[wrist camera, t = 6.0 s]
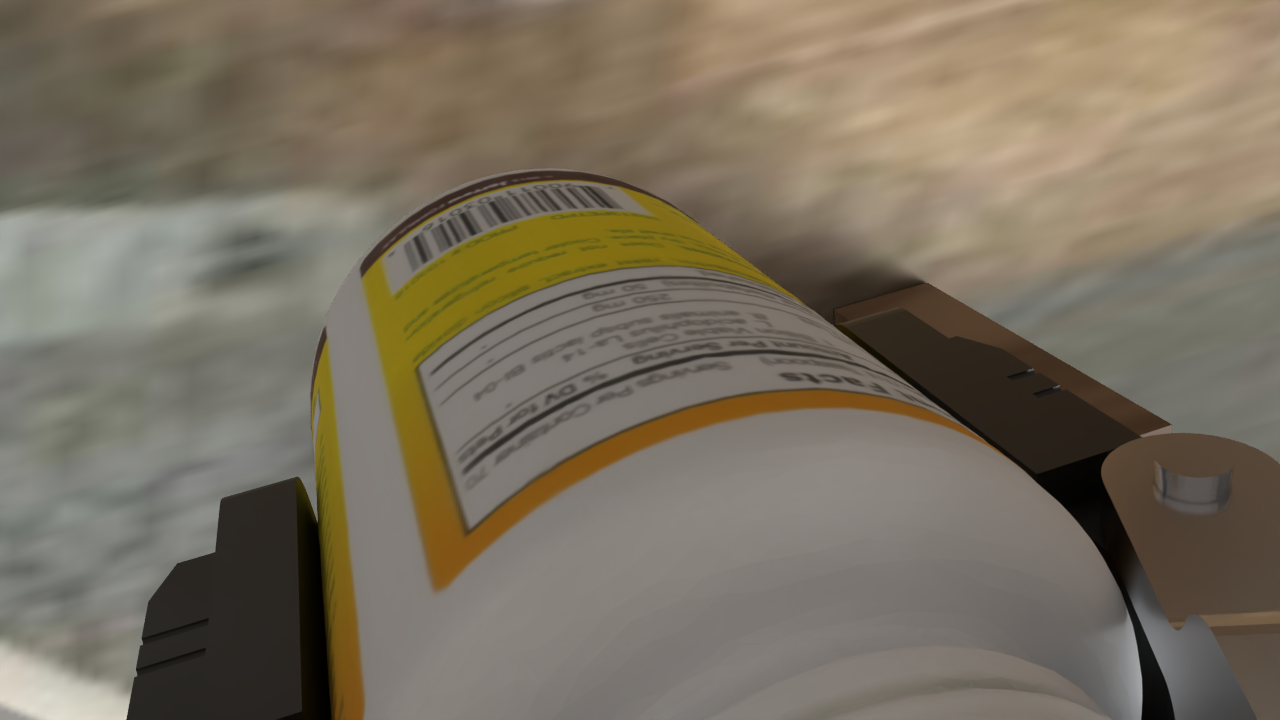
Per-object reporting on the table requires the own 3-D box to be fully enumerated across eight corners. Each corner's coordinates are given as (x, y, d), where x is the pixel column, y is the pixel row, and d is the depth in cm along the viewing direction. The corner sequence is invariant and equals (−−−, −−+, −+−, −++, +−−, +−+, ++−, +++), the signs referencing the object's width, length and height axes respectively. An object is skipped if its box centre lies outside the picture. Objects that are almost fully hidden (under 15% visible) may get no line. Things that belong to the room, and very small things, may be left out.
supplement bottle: (569, 619, 16) (955, 1586, 7) (215, 434, 13) (72, 1577, 4) (816, 312, 15) (1618, 935, 6) (492, 55, 13) (1030, 463, 4)
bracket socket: (422, 426, 29) (485, 652, 21) (926, 282, 32) (1172, 424, 23) (518, 762, 34) (601, 1058, 26) (947, 610, 37) (1155, 829, 29)
